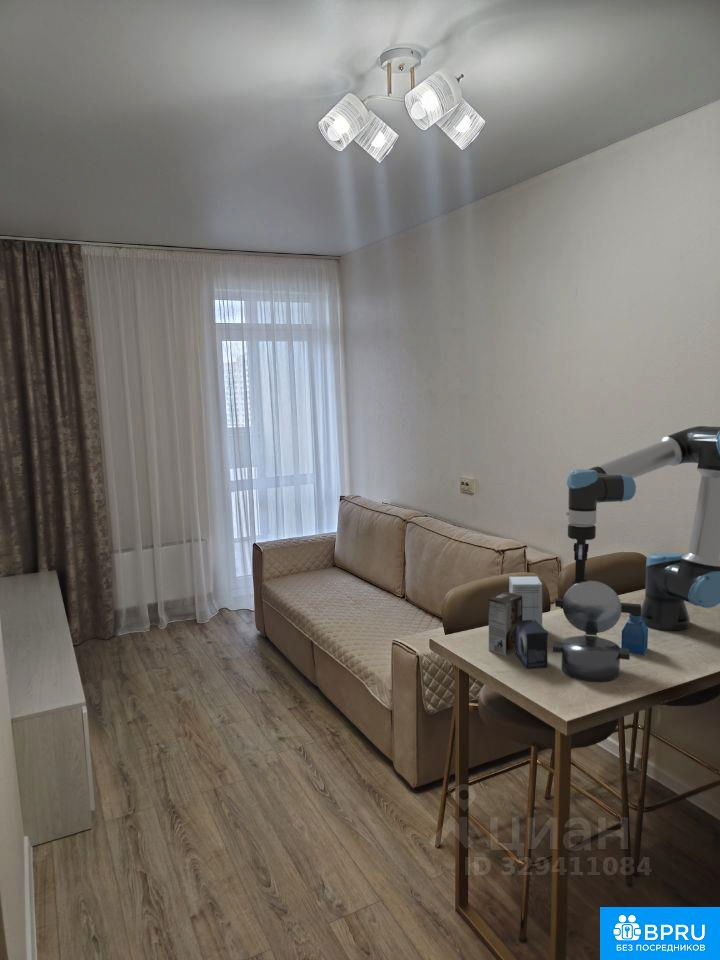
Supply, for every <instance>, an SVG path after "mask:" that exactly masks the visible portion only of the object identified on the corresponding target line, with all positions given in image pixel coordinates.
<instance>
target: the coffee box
mask: <svg viewBox="0 0 720 960" xmlns="http://www.w3.org/2000/svg"><path fill="white" fill-rule="evenodd" d="M515 621H522V596H520V595H516V594H513V593H509V592H508V591H503V592H501V593H499V594H496V595H494V596H492V597H490V598H488V651H489V652H492V651H493V652H492V653H495V652H496V654H499V655H502V656H505V657H506V655H507V656H509V655H510V654H511V653H514V652H515Z"/></svg>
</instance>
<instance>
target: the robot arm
mask: <svg viewBox="0 0 720 960" xmlns="http://www.w3.org/2000/svg"><path fill="white" fill-rule="evenodd" d="M690 463H691V464H697V466H696V467H697V469H696V470H697V471H698V472H699V474H701V479H700V484H699V489H698V494H697V500H696V505H695V512H694V517H693V522H692V526H691V527H692V529H691V533H690V539H689V544H688V550H687V553H679V552H657V553H651V554H648V556H647V557H646V562H645V563H646V565H645V585H644V586H645V588H644V589H645V591H644V592H645V593H644V595H645V596H644V600H643V603H642V604H641V615H642V619H641V620H643V621H644V622H645V624H646V625H647V627H648V628H651V629H656V630H661V631H662V630H663V631H682V629H683V630H686V629H685V628H687V627H688V626H689V625H691V623H690V622H691V620H690V615H689V612H688V609H687V606H686V603H685V602H687V603H689V604H691V605H693V606H695V607H696V606H698V607H701V608H705V609H706V608H707V609H710V608H715V607H717V606H719V605H720V426H706V425H705V426H704V425H699V426H694V427H693V426H692V427H688V428H686V429H683V430H680V431H676V432H674V433H672V434H669V435H666V436H664V437H662V438H661V439H660V440H659V442H658V443H655V444H652V445H650V446H647V447H644V448H641V449H639V450H636V451H633V452H631V453H627V454H626V455H622V456H621V457H618V458H617V457H616V458H615V459H612V460H609V461H607V462H604V463H602V464H599V465H597V466H594V467H591V468H588V469H573V470H571V471H570V473H569V474H568V477H567V479H566V483H567V488H568V511H566V512H565V515H566V516H567V522H568V525H567V537H568V538H569V539H572V540H576V542H573V553H574V554H573V555H574V556H573V558H574V559H573V560H574V561H575V576H574V580H572V584H574V585H575V584H577V583H579V582H582V581H589V580H588V579H587V578H586V576H587V575H586V561H587V560H588V552H589V543H586V542H587V541H592V540H594V539H595V538H596V531H597V529H596V526H595V525H596V524H597V512H598V511H597V506H598V505H597V504H598V503H599V504H600V503H611V502H613V503H614V502H617V503H618V502H620V503H622V502H627V501H630V500H632V499H633V498H634V497H635V496H636V492H637V490H636V489H637V488H636V487H637V486H636V485H637V484H636V481H635V478H638V477H640V476H643V475H645V474H649V473H651V472H654V471H657V470H659V469H661V468H665V467H667V466H671V467H675V466H679V465H682V464H690ZM689 627H690V626H689ZM689 627H688V628H689ZM688 628H687V629H688Z"/></svg>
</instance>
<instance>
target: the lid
mask: <svg viewBox="0 0 720 960" xmlns="http://www.w3.org/2000/svg"><path fill="white" fill-rule="evenodd" d="M555 607H556V608H562V611H563V614H564V617H565V618H566V619H567V621H568V623H569V624H571V626H573V627H574V628H576V629H577V630H579V631H582V632H584V633H585V634H584V635H588V636H598V635H597V634H600V633H604V632H606V631H609V630H610V629H612V628H613V627H614V626H616V625H617V624H618V622H619V621H620V618H621V615H622V614H623V613H625V614H629V613H634V614H641V607H642V604H641V603H640V604H639V603H631V602H630V603H628V602H621V599H620V597H619V595H618V593H617V592H616V591H615V589H613V588H612V587H610V586H609V585H607V584H605V583H603V582H600V581H597V580H588V581H582V582H579V583H577V584H575V583H574V584H572V586H570V587H569V588H568V589H567V590H566V592H565V594H564V596H563V598H555Z"/></svg>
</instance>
